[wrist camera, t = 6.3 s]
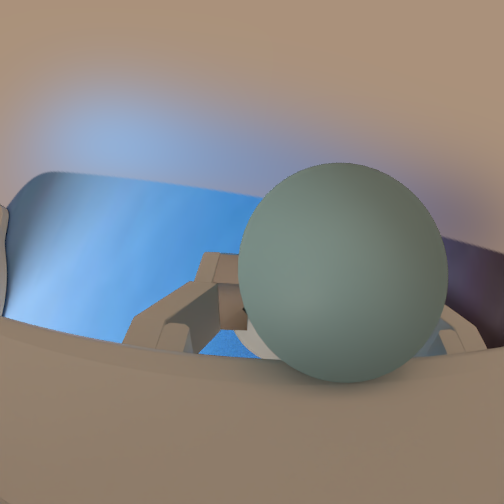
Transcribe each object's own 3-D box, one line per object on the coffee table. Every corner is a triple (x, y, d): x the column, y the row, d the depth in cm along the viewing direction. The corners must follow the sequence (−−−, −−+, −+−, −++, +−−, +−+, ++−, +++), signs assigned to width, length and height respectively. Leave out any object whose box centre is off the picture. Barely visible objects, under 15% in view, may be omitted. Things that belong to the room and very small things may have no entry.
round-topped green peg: (208, 320, 16) (95, 317, 5) (270, 228, 17) (288, 66, 6) (303, 381, 15) (389, 494, 4) (361, 287, 16) (519, 223, 5)
